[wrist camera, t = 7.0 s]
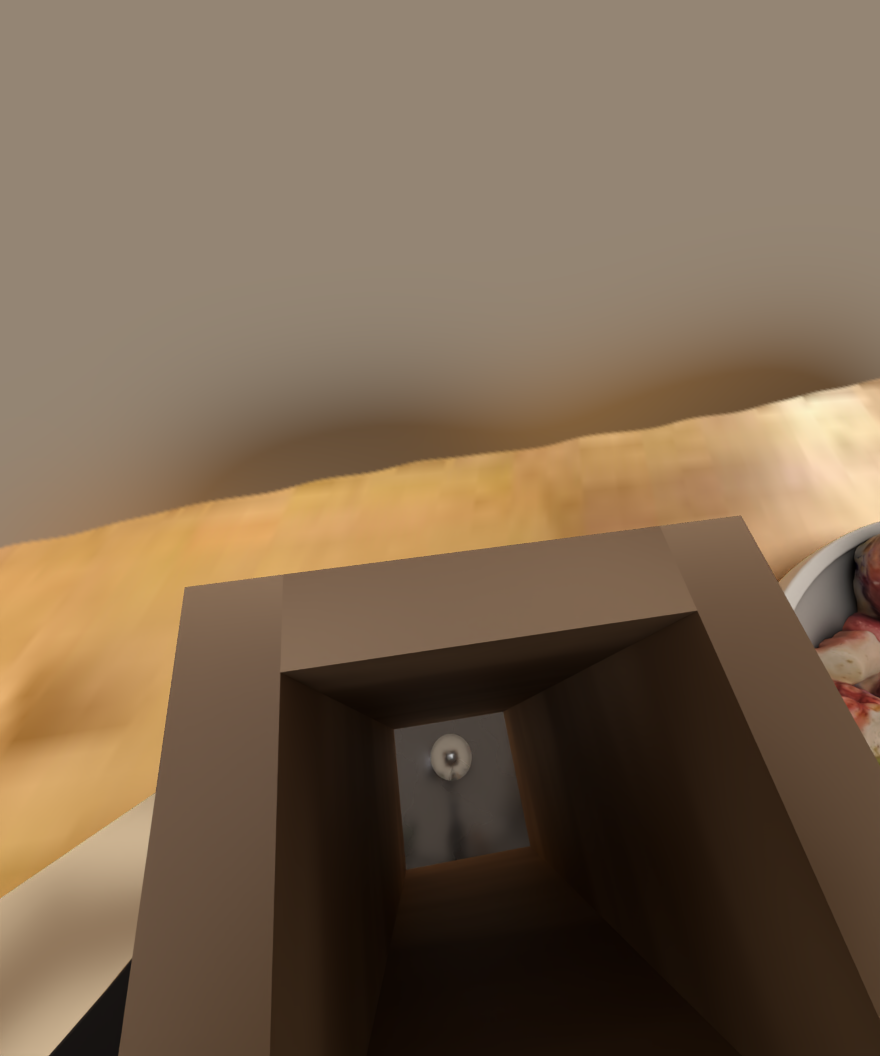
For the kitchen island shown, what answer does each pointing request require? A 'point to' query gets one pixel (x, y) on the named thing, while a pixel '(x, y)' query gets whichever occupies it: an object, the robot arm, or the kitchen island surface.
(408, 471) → the kitchen island surface
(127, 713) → the kitchen island surface
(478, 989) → the collar
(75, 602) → the kitchen island surface
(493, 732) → the hub
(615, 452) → the kitchen island surface
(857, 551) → the bowl
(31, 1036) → the cork pad
